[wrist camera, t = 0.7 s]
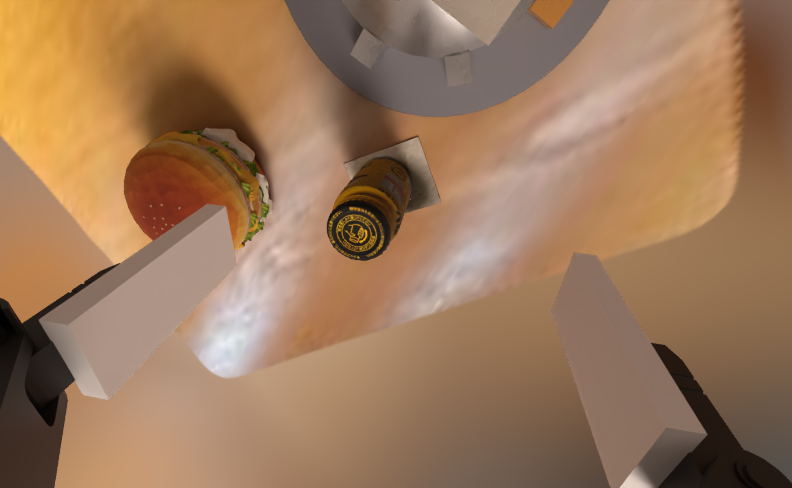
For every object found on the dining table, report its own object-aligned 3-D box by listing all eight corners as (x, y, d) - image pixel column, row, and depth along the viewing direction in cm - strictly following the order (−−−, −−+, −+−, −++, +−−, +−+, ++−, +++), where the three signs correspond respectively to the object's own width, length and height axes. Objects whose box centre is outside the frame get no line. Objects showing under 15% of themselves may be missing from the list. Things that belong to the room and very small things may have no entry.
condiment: (343, 163, 38) (300, 208, 28) (418, 136, 36) (400, 174, 25) (370, 222, 41) (340, 282, 31) (441, 201, 39) (433, 259, 28)
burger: (163, 201, 44) (92, 239, 36) (178, 96, 38) (94, 112, 29) (264, 250, 46) (218, 298, 37) (295, 157, 39) (248, 190, 30)
